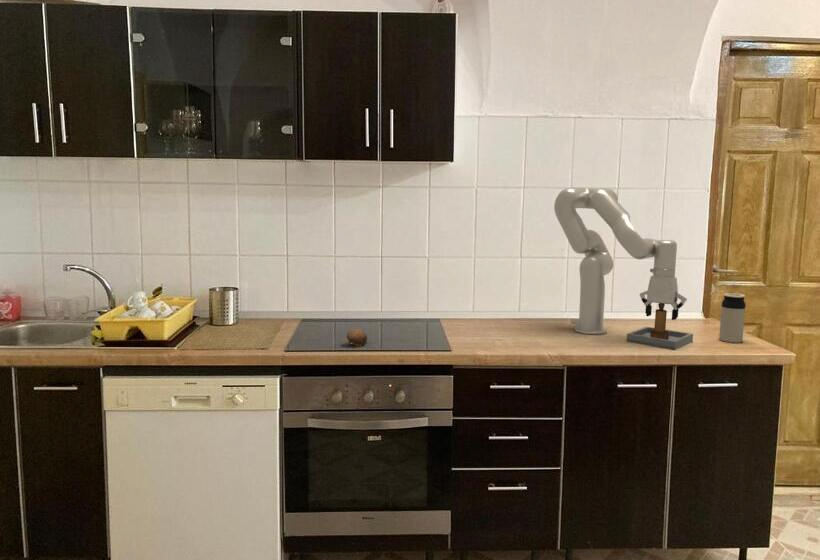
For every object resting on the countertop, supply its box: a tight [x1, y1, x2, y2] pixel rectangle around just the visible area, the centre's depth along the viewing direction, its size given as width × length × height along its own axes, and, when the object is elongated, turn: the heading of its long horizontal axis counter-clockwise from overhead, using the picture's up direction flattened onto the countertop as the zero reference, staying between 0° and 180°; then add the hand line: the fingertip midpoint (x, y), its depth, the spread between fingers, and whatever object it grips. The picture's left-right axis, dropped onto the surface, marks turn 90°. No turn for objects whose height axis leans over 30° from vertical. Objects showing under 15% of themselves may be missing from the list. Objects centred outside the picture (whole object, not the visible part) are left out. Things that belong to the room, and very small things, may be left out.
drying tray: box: [626, 326, 694, 351], centre depth 233 cm, size 18×18×3 cm
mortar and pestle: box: [650, 303, 669, 340], centre depth 232 cm, size 7×6×18 cm
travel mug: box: [718, 292, 747, 344], centre depth 234 cm, size 8×8×18 cm
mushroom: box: [346, 328, 368, 347], centre depth 225 cm, size 8×8×6 cm
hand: (661, 317), depth 232 cm, fingers open, 9 cm apart
